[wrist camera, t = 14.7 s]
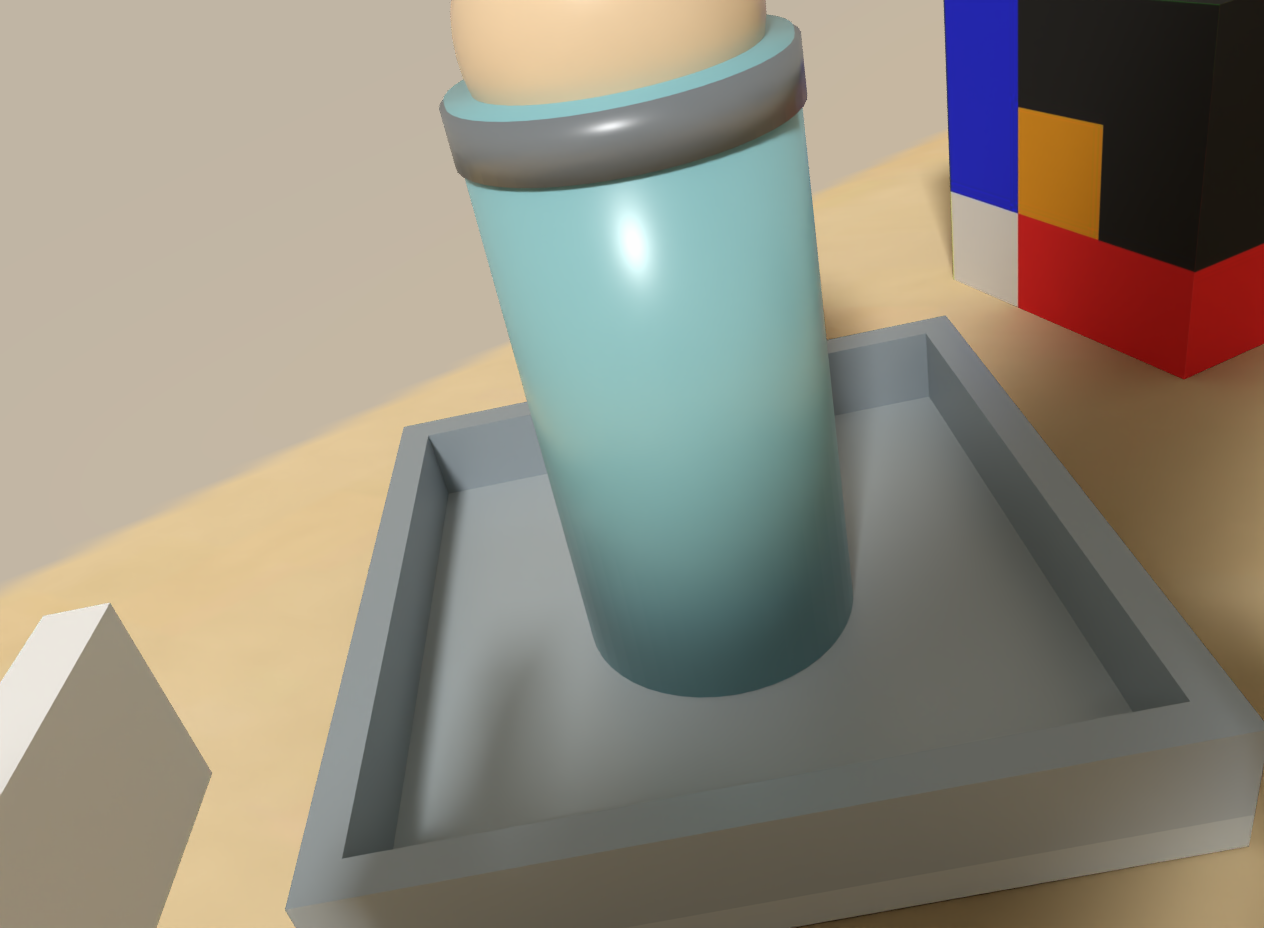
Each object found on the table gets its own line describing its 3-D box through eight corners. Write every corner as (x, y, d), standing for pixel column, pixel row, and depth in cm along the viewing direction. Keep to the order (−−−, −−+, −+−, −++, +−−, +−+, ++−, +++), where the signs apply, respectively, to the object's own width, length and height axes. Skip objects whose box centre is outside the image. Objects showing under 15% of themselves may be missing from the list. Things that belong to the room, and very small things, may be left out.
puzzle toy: (953, 280, 38) (943, -18, 32) (1168, 196, 40) (1191, -95, 35) (1183, 381, 29) (1219, 4, 24) (1436, 267, 32) (1518, -98, 27)
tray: (949, 401, 31) (945, 315, 29) (1248, 846, 17) (1270, 729, 16) (432, 505, 31) (403, 426, 30) (344, 1007, 18) (284, 909, 17)
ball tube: (825, 501, 26) (745, -198, 19) (889, 670, 21) (814, -207, 13) (585, 546, 27) (405, -121, 19) (589, 724, 22) (342, -100, 14)
